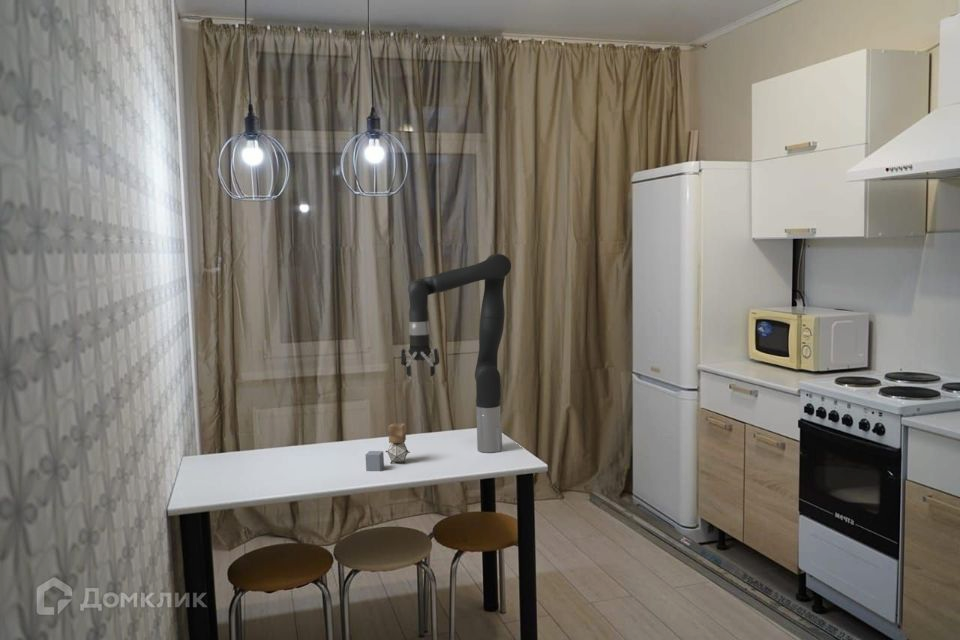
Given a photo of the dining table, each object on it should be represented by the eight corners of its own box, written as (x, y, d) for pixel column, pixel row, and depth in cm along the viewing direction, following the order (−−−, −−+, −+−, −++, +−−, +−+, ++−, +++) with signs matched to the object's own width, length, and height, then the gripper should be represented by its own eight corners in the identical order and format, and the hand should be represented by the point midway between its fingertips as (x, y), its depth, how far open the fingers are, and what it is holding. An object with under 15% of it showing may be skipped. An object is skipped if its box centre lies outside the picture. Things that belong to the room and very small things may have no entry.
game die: (402, 471, 279) (416, 447, 281) (399, 469, 270) (414, 444, 273) (382, 458, 280) (396, 435, 282) (378, 456, 272) (393, 432, 274)
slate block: (384, 467, 271) (383, 451, 270) (379, 471, 266) (379, 454, 265) (370, 467, 272) (369, 450, 271) (366, 471, 267) (365, 454, 266)
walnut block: (405, 439, 278) (405, 423, 278) (402, 442, 273) (401, 426, 273) (392, 439, 279) (392, 423, 278) (389, 442, 274) (388, 426, 273)
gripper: (440, 332, 285) (441, 374, 286) (403, 332, 287) (405, 374, 289) (435, 334, 277) (437, 377, 279) (398, 334, 280) (399, 377, 281)
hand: (420, 376), depth 284 cm, fingers open, 8 cm apart
